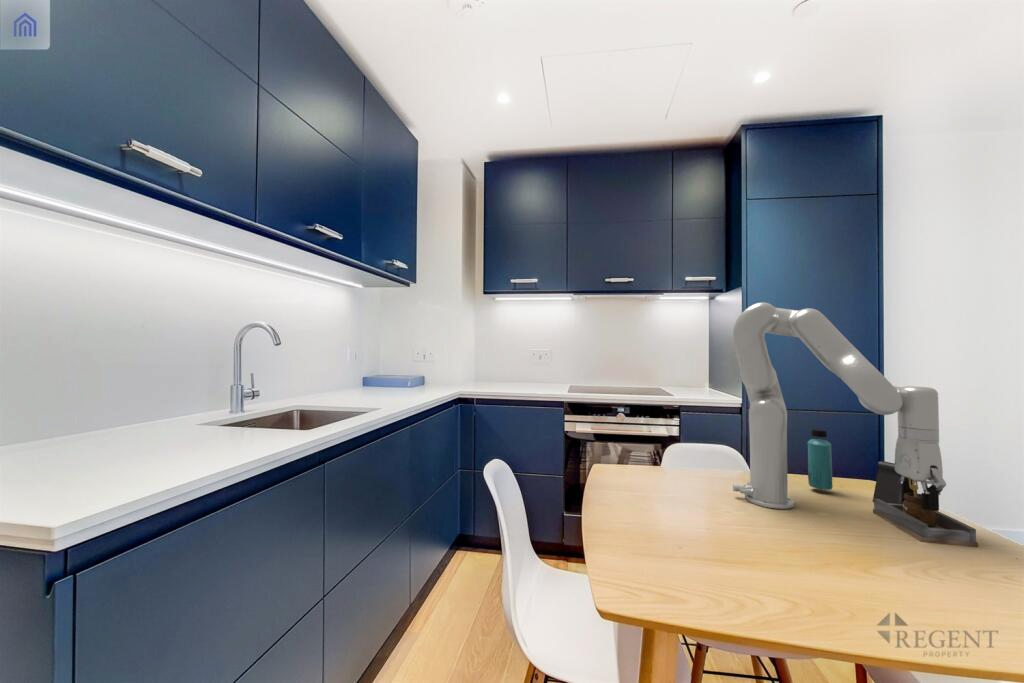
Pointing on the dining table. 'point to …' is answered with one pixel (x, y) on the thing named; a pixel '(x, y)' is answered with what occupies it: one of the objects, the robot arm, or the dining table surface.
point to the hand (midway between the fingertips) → (919, 504)
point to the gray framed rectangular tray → (941, 533)
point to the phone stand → (888, 484)
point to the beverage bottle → (819, 461)
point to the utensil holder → (918, 506)
